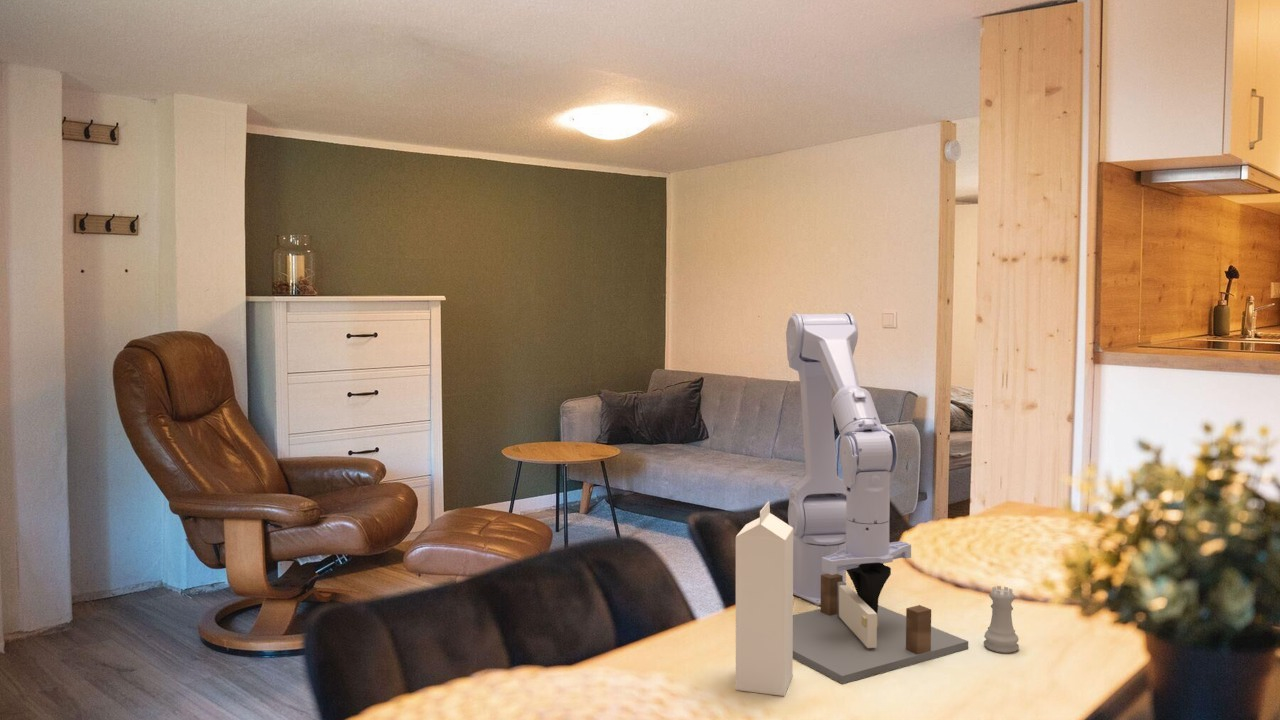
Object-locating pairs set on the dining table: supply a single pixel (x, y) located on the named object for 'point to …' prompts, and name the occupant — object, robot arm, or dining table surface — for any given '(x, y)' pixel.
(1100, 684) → the dining table surface
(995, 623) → the rook chess piece
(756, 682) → the milk
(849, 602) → the gate leaf
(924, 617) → the gate posts
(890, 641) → the base
